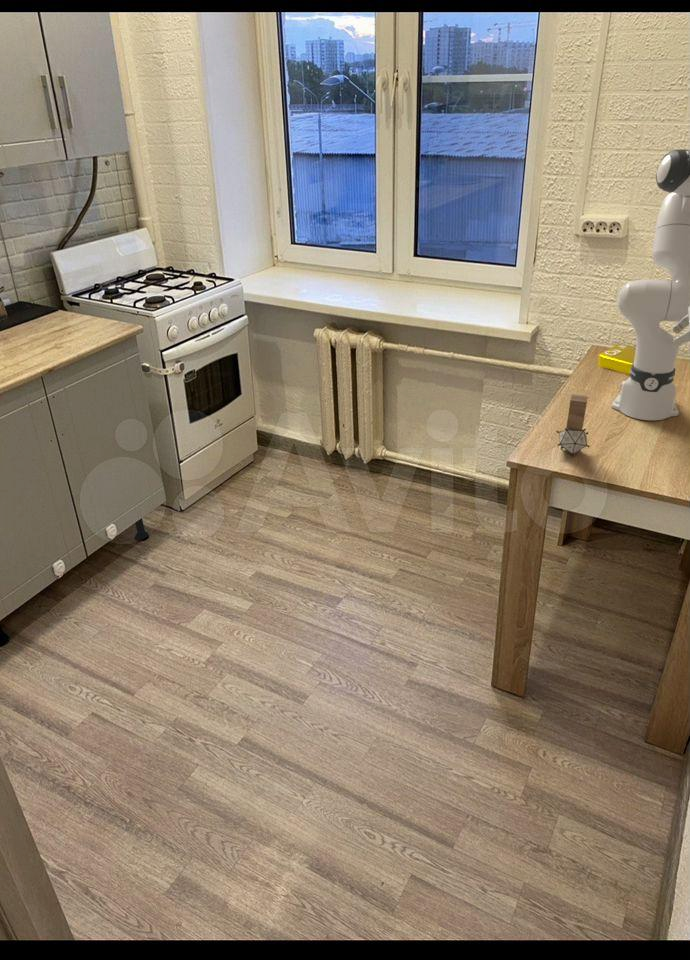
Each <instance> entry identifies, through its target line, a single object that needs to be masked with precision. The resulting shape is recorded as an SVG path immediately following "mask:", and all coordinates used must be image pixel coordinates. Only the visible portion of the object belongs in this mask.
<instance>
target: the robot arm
mask: <svg viewBox="0 0 690 960" xmlns="http://www.w3.org/2000/svg"><path fill="white" fill-rule="evenodd" d="M655 179H656V180H655V181H656V184H657V187H658V189H660V190H662V191H664V192H666V193H668V194H667V195H666V196H665V197H664V199H663V200H662V203H661V206H660V209H659V212H658V215H657V221H656V225H655V230H654V238H653V244H652V253H651V258H652V261H653V263H654V264H655V265H656V266H657V267H658V268H659V269H661V270H664V271H665V272H667V273H668V274H669V276H670V277H671V279H670V280H667V279H666V280H665V279H650V278H644V279H638V280H636V279H635V280H630V281H627V282H626V283H624V285H623V286H621V289H620V290H619V292H618V295H617V300H616V302H617V308H618V310H619V312H620V314H621V315H622V316H623V317H625V318H626V320H628V321H629V323H630V324H631V327H632V328H633V330H634V332H635V339H636V340H635V341H636V343H635V344H636V345H635V348H636V353H635V359H634V363H633V364H632V367H631V369H630V375H629V377H628V378H627V379H626V380H622V382H621V385H620V388H621V391H620V392H619V394H618V395H617V396H616V398H615V399H614V400H613V401H612V404H611V408H612V409H615V410H617V411H619V412H620V413H622V414H624V415H625V416H628V417H631V418H632V419H637V420H643V421H661V420H666V419H668V418H671V417H677V416H679V413H680V411H679V410H678V407H677V405H676V403H675V401H676V396H677V390H678V389H677V387H676V385H674V383H673V382H674V379H675V376H676V368H675V366H676V361H677V357H678V353H679V347H680V346H682V345H683V344H685V343H688V342H690V150H689V149H686V148H683V149H673V150H670V151H669V152H668V153H666V154H665V155H664V156H663V157H662V158H661V160H660V162H659V164H658V167H657V170H656V174H655ZM661 322H673V323H674V322H675V323H676V324H675V325H673V326H672V331H673V332H674V333H675V334H676V335H677V336H674V335H673V334H672V333H670V332H669V331H667V330H665V329H664V328H662V327H661V326H660V325H661V324H660V323H661ZM688 326H689V327H688ZM686 327H688V328H689V329H688V330H686V331H685V332H684V333H682V334H681V335H680V333H681V332H682V331H684V329H685V328H686ZM678 334H679V335H678Z"/></svg>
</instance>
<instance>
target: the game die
mask: <svg viewBox="0 0 690 960" xmlns="http://www.w3.org/2000/svg"><path fill="white" fill-rule="evenodd" d="M586 430H587V429H586V428H584V429H582V430H579V429H571V428H566V427H565V428H564V429H562V430H560V431H559V430H556V433H558V437H559V438H558V441H559V443H557V446H558V447H559V446H560V449H561V450H563V449H564V450H566V452H568V453H569V454H571V456H570V457H571V458H573V457H574V454H575V453H578V452H579V451H581V450H582V449H584V448H586V447H587V448H591V446H590V445H588V440H587V439H588V438H587V435H589V433H590V432H588V431H587V432H586Z"/></svg>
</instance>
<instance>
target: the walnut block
mask: <svg viewBox="0 0 690 960" xmlns="http://www.w3.org/2000/svg"><path fill="white" fill-rule="evenodd" d="M588 397H589V396H588V395H583V394H582V395H581V394H573V393H572V394H571V397H570V400H569V407H568V414H567V421H566V427H565V428H571V429H579V430H583V427H584V421H585V415H586V410H587V404H588Z"/></svg>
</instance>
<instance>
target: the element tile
mask: <svg viewBox="0 0 690 960" xmlns="http://www.w3.org/2000/svg"><path fill="white" fill-rule="evenodd" d="M635 353H636V347H633V346H629V345H625V344H624V345H623V344H616V345H614V346H613V347H610V348H608V349H606V350H605V351H603V352H602V351H601V352H600V353H599V354H598V360H597V366H598V367H600V368H604V369H607V370H611V371H614V372H618V373H620V374H624V375H625V374H626V375H629V376H630V369H631V367H632V364H633V363H634V359H635Z"/></svg>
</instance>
